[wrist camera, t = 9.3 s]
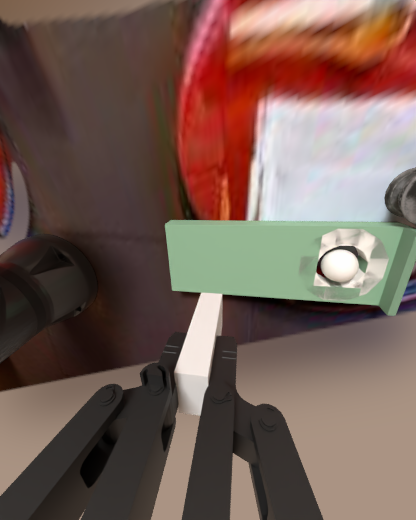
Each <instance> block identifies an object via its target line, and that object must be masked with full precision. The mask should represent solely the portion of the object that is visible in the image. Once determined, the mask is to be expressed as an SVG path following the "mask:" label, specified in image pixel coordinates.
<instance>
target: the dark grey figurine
mask: <svg viewBox="0 0 416 520" xmlns="http://www.w3.org/2000/svg"><path fill="white" fill-rule="evenodd" d="M385 204H386V206H387V209H388V210H389V211H390V212H391V213H393V214H395V215H398V216H403V217H405V218H406V219H407V220H408V221H409V222H411V223H413V224H415V225H416V167H415V168H412V169H409V170H407V171H405V172H403V173H401V174H400V175H398V176H397V177H396V178H395V179H394V180H393V181H392V182H391V183H390V185H389V187H388V189H387V191H386V194H385Z"/></svg>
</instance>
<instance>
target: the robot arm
mask: <svg viewBox="0 0 416 520" xmlns="http://www.w3.org/2000/svg"><path fill="white" fill-rule="evenodd" d="M97 289H98V286H97V279H96V275H95V273H94V270H93V268H92V266H91V264H90V263H89V261H88V260H87V259H86V257H85V256H84V255H83V254H82V253H81V252H80V251H79V250H78V249H77V248H76V247H75V246H73V245H72V244H71V243H69V242H68V241H66V240H64V239H62V238H60V237H57V236H54V235H49V234H39V235H35V236H31V237H28V238H25V239H22V240H20V241H18V242H17V243H15V244H14V245H13V246H11V247H10V248H9V249H7V250H6V251H5V252H3V253H2V254H1V255H0V363H1V362H2V361H4V360H5V359H6V358H7V357H9V356H10V355H11V354H13V353H14V352H15V351H16V350H18V349H19V348H20V347H21V346H23V345H24V344H25V343H26V342H28V341H29V340H30V339H31V338H33V337H34V336H35V335H36V334H38V333H39V332H40V331H42V330H43V329H45V328H47V327H49V326H52V325H54V324H57V323H59V322H62V321H64V320H67V319H69V318H72V317H74V316H76V315H78V314H80V313H82V312H83V311H84V310H85V309H86V308H88V307H89V306H90V305H91V304H92V303H93V302H94V300H95V298H96V295H97ZM221 330H222V294H217V293H201V295H200V298H199V301H198V304H197V307H196V310H195V313H194V315H193V318H192V321H191V324H190V327H189V330H188V333H179V332H175V333H174V334H173V335H172V336H171V337H170V338H169V339H168V342H167V344H166V347H165V348H164V351H163V353H162V355H161V358H160V360H159V362H158V363H152V364H149V365H147V366H146V367H145V368H143V370H142V371H141V372H140V377H141V381H142V386H139V387H136V388H131V389H127V390H122V387H121V386H119V385H117V384H109V385H106V386H104V387H102V388H101V389H99V390H98V391H97V392H96V393H95V394H94V395H93V396H92V397H91V398H90V399H89V401H88V402H87V403H86V404H85V405H84V406H83V407H82V408H81V409H80V410H79V411H78V412H77V414H76V415H75V416H74V417H73V418H72V419H71V420H70V421H69V422H68V423H67V424H66V426H65V427H64V428H63V429H62V430H61V431H60V432H59V433H58V434H57V435H56V436H55V437H54V439H53V440H52V441H51V442H50V443H49V444H48V445H47V446H46V447H45V448H44V449H43V451H42V452H41V453H40V454H39V455H38V456H37V457H36V458H35V459H34V460H33V461H32V462H31V464H30V465H29V466H28V467H27V468H26V469H25V470H24V471H23V472H22V474H21V475H20V476H19V477H18V478H17V479H16V480H15V481H14V482H13V483H12V484H11V485H10V487H8V489H7V490H6V491H5V492H4V493H3V494H2V495H1V496H0V520H79V518H80V517H81V515H82V513H83V512H84V514H83V516H82V518H81V520H151V517H152V513H153V509H154V505H155V501H156V498H157V494H158V490H159V486H160V482H161V479H162V475H163V471H164V467H165V464H166V460H167V456H168V452H169V448H170V444H171V441H172V437H173V433H174V429H175V424H176V418H175V415H176V412H177V408H178V409H179V412H180V413H187V414H193V415H199V416H200V421H199V426H198V432H197V437H196V443H195V449H194V455H193V460H192V465H191V471H190V477H189V482H188V488H187V493H186V499H185V505H184V511H183V515H182V520H230V503H231V501H230V500H231V480H232V457H233V453H234V454H236V455H237V456H239V457H241V458H242V459H244V460H245V461H247V462H249V468H250V472H251V478H252V482H253V487H254V492H255V497H256V502H257V507H258V511H259V517H260V520H323V517H322V515H321V512H320V509H319V507H318V504H317V502H316V499H315V496H314V494H313V491H312V489H311V486H310V483H309V481H308V478H307V476H306V473H305V470H304V468H303V465H302V463H301V460H300V458H299V455H298V452H297V450H296V447H295V444H294V442H293V439H292V436H291V434H290V431H289V429H288V426H287V423H286V421H285V419H284V417H283V415H282V414H281V412H280V411H279V410H278V409H277V408H276V407H274V406H272V405H269V404H261V405H257V406H254V405H252V404H250V403H248V402H246V401H245V400H243V399H242V398H241V397H240V396H239V394H238V393H237V390H236V385H235V383H236V357H237V343H236V341H235V339H234V337H228V336H221ZM84 510H85V511H84Z"/></svg>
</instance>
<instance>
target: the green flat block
mask: <svg viewBox="0 0 416 520" xmlns="http://www.w3.org/2000/svg"><path fill="white" fill-rule="evenodd" d="M165 229H166V238H167V247H168V256H169V265H170V274H171V283H172V291H185V292H199V293H217V294H227V295H241V296H255V297H269V298H283V299H297V300H311V301H325V302H339V303H353V304H367V305H378V306H379V307H380V308H381V309H382V310H383V311H384V312H385V313H386V314H387V315H391V316H395V315H396V312H397V310H398V307H399V304H400V302H401V299H402V296H403V294H404V291H405V288H406V286H407V283H408V280H409V278H410V275H411V272H412V270H413V267H414V264H415V262H416V229H415V228H413V227H410V226H407V225H404V224H402V223H399V222H323V221H213V220H171V221H169V222H168V223H166V224H165ZM337 246H354V247H356V250H357V252H358V259H357V260H358V263H359V269H358V272H357V274H356V275H355V276H354V277H353V278H352V279H350V280H347V281H344V282H337V281H333V280H330V279H329V278H324V277H322V276H321V275H319V274H317V273H316V268H317V263H318V260H319V259H320V258H321V257H322V255H323V254H324V253H325V252H326V251H328V250H330V249H332V248H335V247H337Z"/></svg>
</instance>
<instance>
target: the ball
mask: <svg viewBox="0 0 416 520" xmlns="http://www.w3.org/2000/svg"><path fill="white" fill-rule="evenodd" d="M358 269H359V263H358V260H357V258H356V257H355V255H354V254H352V253H351V252H349V251H347V250H343V249H337V250H332V251H330V252H328V253H327V254H326V255H325V256H324V257H323V259H322V261H321V270H322V272H323V274H324V275H325V276H326V277H327V278H329V279H330V280H333V281H337V282H344V281H347V280H350V279H352V278H353V277H354V276H355V275H356V274H357V272H358Z"/></svg>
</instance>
